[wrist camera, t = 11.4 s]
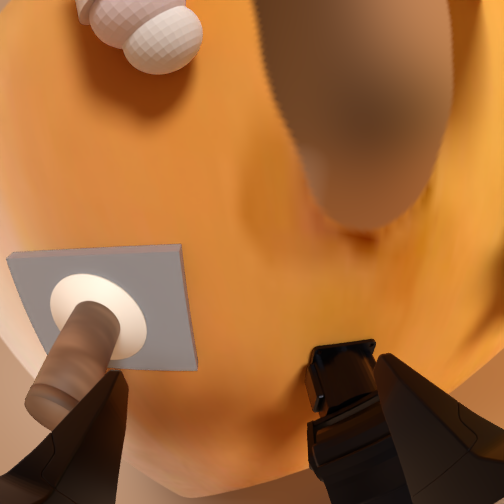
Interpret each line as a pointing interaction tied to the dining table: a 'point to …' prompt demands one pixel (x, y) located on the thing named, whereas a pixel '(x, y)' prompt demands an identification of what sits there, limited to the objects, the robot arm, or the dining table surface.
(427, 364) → the dining table surface
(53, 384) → the pepper mill
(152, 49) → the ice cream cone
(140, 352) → the serving board
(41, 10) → the dining table surface
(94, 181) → the dining table surface
